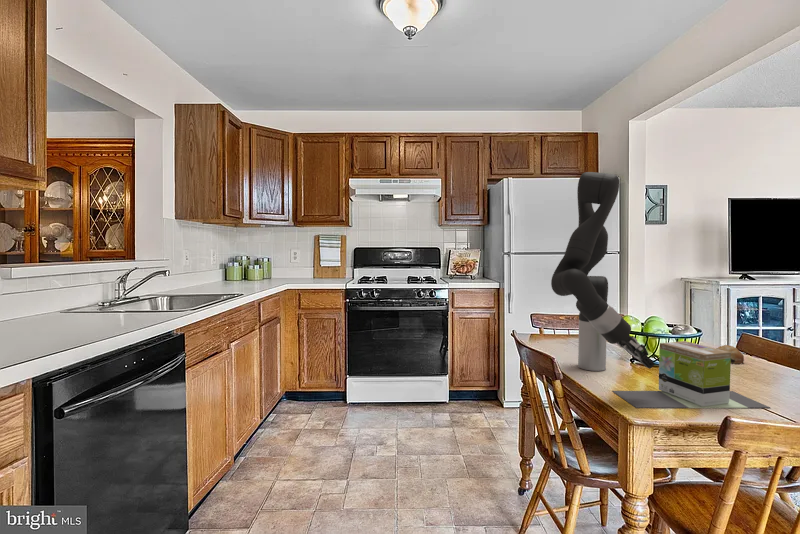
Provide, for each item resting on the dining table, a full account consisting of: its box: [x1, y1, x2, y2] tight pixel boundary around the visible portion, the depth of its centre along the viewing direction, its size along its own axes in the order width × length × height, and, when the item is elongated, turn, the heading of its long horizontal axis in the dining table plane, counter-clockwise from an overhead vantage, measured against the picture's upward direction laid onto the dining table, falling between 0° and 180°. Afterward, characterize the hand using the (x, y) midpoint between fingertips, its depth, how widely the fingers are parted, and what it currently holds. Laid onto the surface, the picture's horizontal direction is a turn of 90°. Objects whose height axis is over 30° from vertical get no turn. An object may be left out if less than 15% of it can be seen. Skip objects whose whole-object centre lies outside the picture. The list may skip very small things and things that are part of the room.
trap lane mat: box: [612, 390, 771, 410], centre depth 129 cm, size 14×36×1 cm, turn 90°
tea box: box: [658, 340, 732, 407], centre depth 130 cm, size 15×10×15 cm
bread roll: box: [715, 344, 745, 365], centre depth 173 cm, size 10×10×8 cm
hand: (650, 365), depth 129 cm, fingers closed
